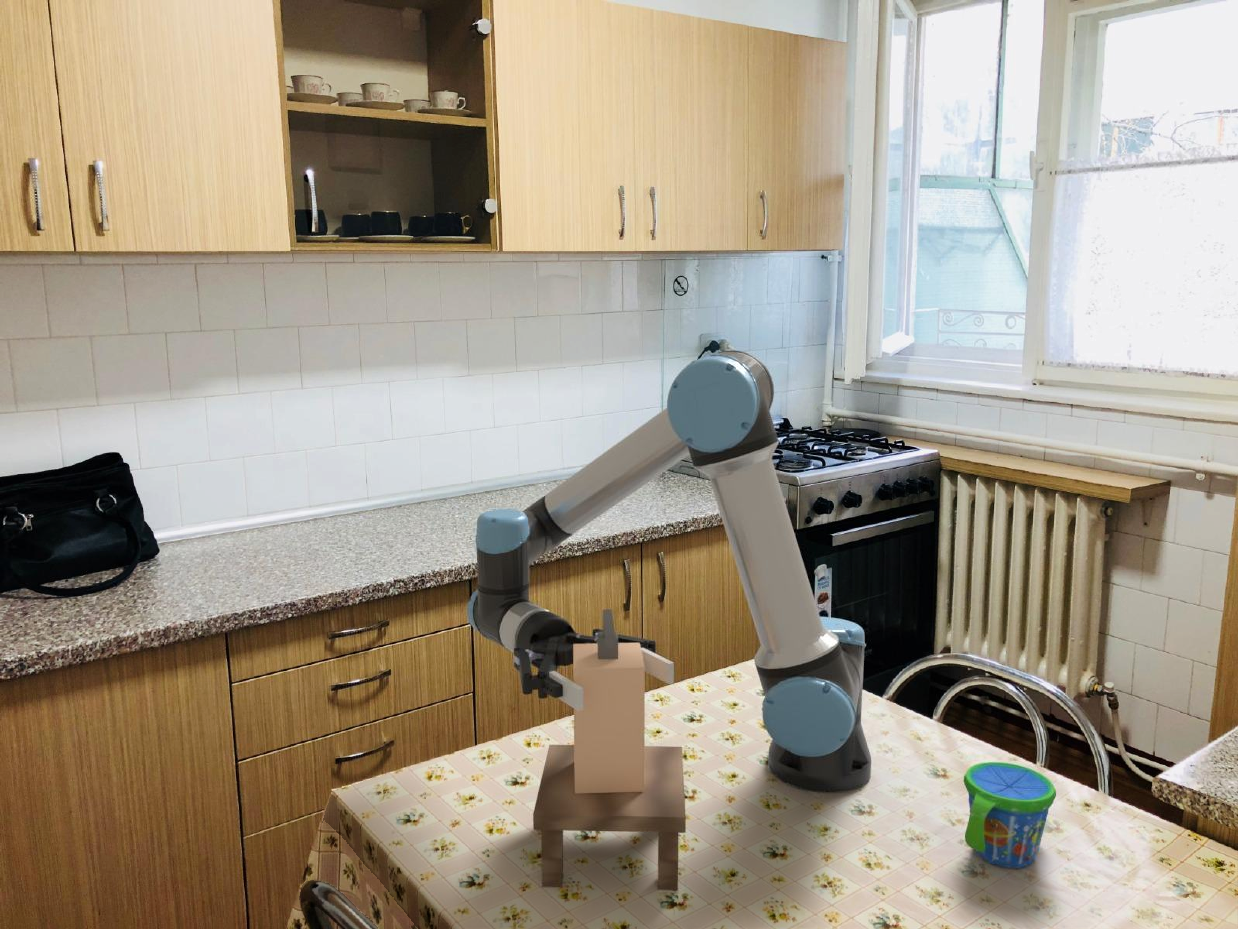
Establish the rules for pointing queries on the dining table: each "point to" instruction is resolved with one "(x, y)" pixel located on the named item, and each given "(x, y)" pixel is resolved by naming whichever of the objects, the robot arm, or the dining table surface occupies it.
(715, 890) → the dining table surface
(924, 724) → the dining table surface
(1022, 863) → the snack cup
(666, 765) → the walnut stool
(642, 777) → the soap dispenser
